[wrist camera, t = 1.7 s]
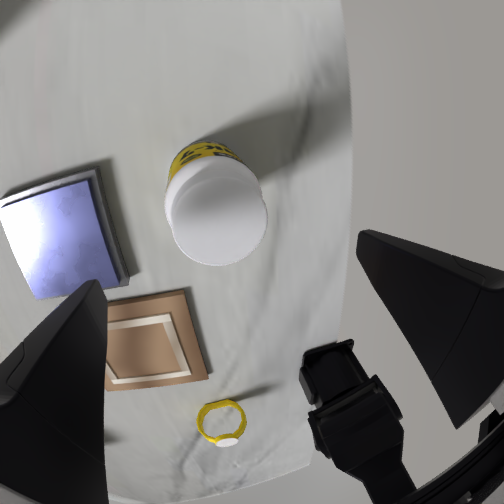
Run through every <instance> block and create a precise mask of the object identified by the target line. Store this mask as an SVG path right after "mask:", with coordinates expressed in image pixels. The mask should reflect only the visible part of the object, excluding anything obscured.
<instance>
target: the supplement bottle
mask: <svg viewBox="0 0 504 504" xmlns="http://www.w3.org/2000/svg"><path fill="white" fill-rule="evenodd" d="M165 212H166V217H167V220H168V222H169V224H170V226H171V228H172V233H173V236H174V239H175V241H176V243H177V245H178V246H179V248H180V249H181V251H182V252H183V253H184V254H186V255H187V256H188V257H189V258H191V259H193V260H194V261H196V262H199V263H202V264H205V265H211V266H221V265H228V264H232V263H235V262H237V261H240V260H241V259H243V258H245V257H246V256H248V255H249V254H250V253H252V252H253V251H254V250H255V249H256V248H257V246H258V245H259V244H260V242H261V241H262V239H263V237H264V235H265V232H266V228H267V223H268V214H267V209H266V205H265V202H264V200H263V197H262V191H261V187H260V184H259V182H258V180H257V178H256V176H255V175H254V174H253V172H252V171H251V170H250V169H249V168H248V167H247V166H246V165H245V164H244V163H243V162H242V161H241V160H240V159H239V158H238V157H237V156H236V155H235V154H234V153H233V152H232V151H231V150H230V149H229V148H227V147H226V146H224V145H223V144H220V143H218V142H214V141H199V142H195V143H192V144H190V145H188V146H186V147H185V148H183V149H182V150H181V151H180V152H179V153H178V154H177V155H176V157H175V158H174V160H173V162H172V164H171V167H170V171H169V176H168V182H167V188H166V194H165Z"/></svg>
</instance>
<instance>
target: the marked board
mask: <svg viewBox="0 0 504 504" xmlns="http://www.w3.org/2000/svg"><path fill="white" fill-rule="evenodd" d="M207 379H209V377H208V373H207V370H206V367H205V364H204V360H203V357H202V354H201V351H200V347H199V344H198V341H197V337H196V334H195V330H194V327H193V323H192V320H191V316H190V312H189V309H188V305H187V301H186V297H185V293H184V290H179V291H174V292H168V293H162V294H156V295H150V296H144V297H138V298H132V299H126V300H120V301H114V302H108V345H107V357H106V370H105V389H106V390H107V391H120V390H132V389H142V388H151V387H160V386H168V385H175V384H182V383H188V382H195V381H201V380H207Z"/></svg>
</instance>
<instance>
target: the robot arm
mask: <svg viewBox="0 0 504 504" xmlns="http://www.w3.org/2000/svg"><path fill="white" fill-rule="evenodd" d="M356 255H357V258H358V260H359V262H360V264H361V265H362V267H363V269H364V271H365V273H366V275H367V276H368V278H369V280H370V282H371V284H372V286H373V287H374V289H375V291H376V292H377V294H378V295H379V297H380V298H381V300H382V301H383V303H384V304H385V306H386V308H387V309H388V311H389V312H390V314H391V315H392V317H393V318H394V320H395V322H396V323H397V325H398V326H399V328H400V329H401V331H402V333H403V334H404V336H405V338H406V339H407V341H408V342H409V344H410V346H411V348H412V349H413V351H414V352H415V354H416V356H417V358H418V360H419V361H420V363H421V365H422V366H423V368H424V370H425V372H426V374H427V375H428V377H429V379H430V381H431V383H432V385H433V386H434V388H435V390H436V392H437V394H438V396H439V398H440V400H441V401H442V403H443V405H444V407H445V409H446V411H447V413H448V415H449V417H450V419H451V421H452V423H453V425H454V427H455V428H456V429H458V428H460V427H461V426H462V425H463V424H464V423H466V422H467V421H469V420H470V419H471V418H472V417H473V416H475V415H476V414H477V413H478V412H479V411H481V410H482V409H483V408H484V407H485V406H486V405H487V404H488V403H490V402H491V403H492V405H493V406H494V407H495V410H494V411H493V412H492V413H491V414H490V415H489V416H488V417H487V418H486V419H485V420H484V421H482V422H481V423H480V431H479V438H478V444H477V445H476V446H475V447H474V448H473V449H472V450H470V451H469V452H468V453H467V454H466V455H464V456H463V457H462V458H461V459H459V460H458V461H457V462H456V463H454V464H453V465H452V466H451V467H449V468H448V469H446V470H445V471H443V472H442V473H441V474H439V475H438V476H436V477H435V478H434V479H432V480H431V481H429V482H428V483H426V484H425V485H423V486H421V487H420V488H418V489H416V487H415V485H414V483H413V481H412V479H411V478H410V476H409V474H408V472H407V470H406V468H405V467H404V465H403V463H402V451H403V439H404V430H403V428H402V426H401V424H400V422H399V420H401V419H402V418H403V416H402V414H401V411H400V409H399V407H398V405H397V404H396V402H395V400H394V399H393V398H392V396H391V394H390V393H389V392H388V390H387V389H386V387H385V386H384V385H383V383H382V382H381V381H380V379H379V378H378V376H377V375H376V374H375V375H374V376H372V378H370V379H369V377H368V375H367V374H366V372H365V371H364V369H363V367H362V366H361V364H360V363H359V361H358V360H357V358H356V356H355V355H354V353H353V352H352V348H353V345H354V341H353V339H348V340H345V341H343V342H339V343H336V344H333V345H330V346H326V347H323V348H320V349H316V350H313V351H309V352H306V353H305V354H304V355H303V359H302V367H301V368H300V373H299V381H300V384H301V386H302V388H303V390H304V393H305V395H306V397H307V399H308V402H309V404H311V405H313V404H315V406H316V408H317V409H316V410H314V411H310V412H308V415H309V418H308V419H307V420H308V422H309V424H310V427H311V429H312V433H313V438H314V444H315V448H316V450H317V451H321V452H322V453H323V454H324V455H325V456H326V457H327V458H328V459H330V458H332V460H333V462H334V464H335V466H336V467H337V468H338V469H340V470H342V471H343V472H345V473H347V474H348V475H350V476H352V477H354V478H356V479H358V480H359V481H361V482H363V484H364V486H365V488H366V490H367V492H368V494H369V496H370V498H371V500H372V502H373V504H504V271H502V270H499V269H495V268H491V267H489V266H485V265H482V264H479V263H476V262H472V261H469V260H466V259H463V258H460V257H457V256H454V255H451V254H448V253H445V252H442V251H439V250H436V249H433V248H430V247H427V246H424V245H420V244H417V243H414V242H411V241H408V240H404V239H401V238H398V237H394V236H391V235H388V234H384V233H381V232H377V231H374V230H370V229H368V230H363V231H360V232H359V234H358V240H357V248H356ZM107 345H108V302H107V299H106V296H105V294H104V292H103V289H102V287H101V284H100V282H99V281H98V280H97V279H92V280H87V281H85V282H84V283H83V284H82V285H81V286H80V287H79V288H77V289H76V290H75V291H74V292H73V293H72V294H71V295H70V296H69V297H67V298H66V299H65V300H64V301H63V302H62V303H61V304H60V305H59V306H58V307H57V308H56V309H55V310H54V311H52V312H51V313H50V314H49V315H48V316H47V317H46V318H45V319H44V320H43V321H42V322H41V323H40V324H39V325H38V326H37V327H36V328H35V329H34V330H33V331H32V332H31V333H30V334H29V335H28V336H27V337H26V338H25V339H24V340H23V342H21V343H20V344H19V345H18V346H17V347H16V348H15V349H14V350H13V352H12V353H11V354H10V355H9V356H8V357H7V358H6V359H5V360H4V361H3V362H2V363H1V364H0V504H109V500H108V491H107V481H106V469H105V465H104V464H105V455H104V388H105V370H106V357H107Z"/></svg>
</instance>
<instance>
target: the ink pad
mask: <svg viewBox="0 0 504 504" xmlns="http://www.w3.org/2000/svg"><path fill="white" fill-rule="evenodd" d="M0 218H1V221H2V224H3V226H4V229H5V232H6V235H7V237H8V240H9V242H10V245H11V247H12V250H13V252H14V255H15V257H16V259H17V261H18V264H19V266H20V268H21V270H22V272H23V275H24V277H25V279H26V281H27V283H28V285H29V287H30V289H31V291H32V293H33V295H34V297H35V299H36V300H37V301H39V300H45V299H51V298H57V297H63V296H69V295H71V294H72V293H73V292H74V291H75V290H76V289H77V288H79V287H80V286H81V285H82V284H83V283H84V282H85V281H87V280H92V279H97V280H98V281H99V282H100V284H101V287H102V289H103V290H105V289H111V288H117V287H123V286H128V285H129V280H130V277H129V274H128V271H127V268H126V265H125V262H124V259H123V256H122V253H121V250H120V247H119V243H118V240H117V237H116V233H115V230H114V226H113V223H112V219H111V216H110V212H109V208H108V204H107V200H106V196H105V192H104V188H103V184H102V179H101V175H100V170H99V166H96V167H93V168H89V169H85V170H82V171H78V172H75V173H71V174H68V175H65V176H61V177H58V178H55V179H52V180H49V181H46V182H43V183H40V184H37V185H34V186H31V187H28V188H26V189H23V190H20V191H17V192H15V193H12V194H10V195H7V196H4V197H2V198H1V199H0Z"/></svg>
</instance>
